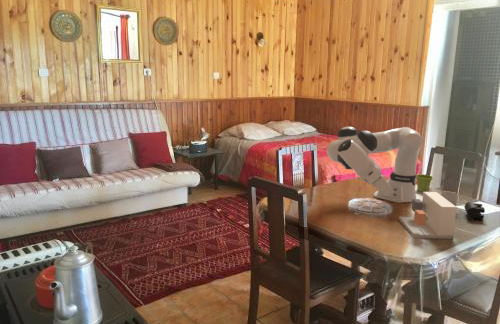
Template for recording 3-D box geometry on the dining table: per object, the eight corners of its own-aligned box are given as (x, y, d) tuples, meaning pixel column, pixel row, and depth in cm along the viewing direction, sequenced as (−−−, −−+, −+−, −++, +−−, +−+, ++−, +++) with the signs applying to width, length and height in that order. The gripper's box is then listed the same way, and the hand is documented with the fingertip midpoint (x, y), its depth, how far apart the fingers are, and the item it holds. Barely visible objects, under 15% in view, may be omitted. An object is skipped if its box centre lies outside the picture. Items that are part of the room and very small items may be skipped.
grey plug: (415, 212, 189) (416, 202, 188) (411, 209, 193) (412, 199, 192) (425, 213, 188) (426, 202, 187) (421, 209, 193) (422, 199, 192)
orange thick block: (417, 225, 173) (418, 213, 172) (413, 220, 178) (414, 209, 177) (428, 225, 173) (429, 214, 172) (424, 221, 178) (425, 210, 177)
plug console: (413, 237, 174) (417, 206, 171) (398, 219, 195) (401, 191, 192) (452, 239, 173) (456, 207, 170) (433, 220, 194) (436, 192, 192)
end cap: (463, 213, 205) (465, 200, 204) (479, 215, 203) (481, 202, 201) (466, 220, 196) (468, 206, 195) (483, 222, 194) (485, 208, 192)
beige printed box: (454, 212, 206) (456, 193, 204) (439, 210, 209) (441, 191, 207) (455, 211, 209) (457, 192, 207) (440, 208, 212) (442, 189, 210)
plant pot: (430, 189, 248) (432, 175, 246) (432, 193, 239) (433, 178, 237) (414, 187, 251) (415, 173, 249) (414, 191, 242) (416, 177, 240)
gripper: (358, 171, 183) (379, 192, 184) (368, 183, 163) (391, 207, 165) (369, 161, 182) (390, 183, 183) (381, 172, 162) (404, 197, 163)
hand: (391, 195), depth 174 cm, fingers closed
